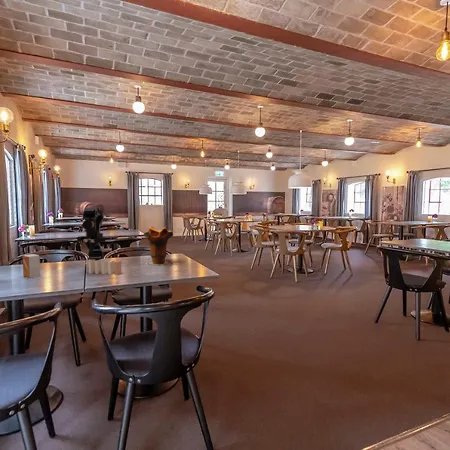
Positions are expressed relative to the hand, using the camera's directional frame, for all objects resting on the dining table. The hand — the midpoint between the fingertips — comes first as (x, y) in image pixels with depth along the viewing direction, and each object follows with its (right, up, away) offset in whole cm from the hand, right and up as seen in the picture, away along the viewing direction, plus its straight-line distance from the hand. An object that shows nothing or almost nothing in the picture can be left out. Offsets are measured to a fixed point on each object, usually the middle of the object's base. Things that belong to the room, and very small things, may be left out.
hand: (91, 252), depth 202 cm
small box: (-32, -14, -9) cm, 36 cm away
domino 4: (+13, -13, -2) cm, 19 cm away
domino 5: (+18, -13, -2) cm, 22 cm away
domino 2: (+5, -13, 0) cm, 14 cm away
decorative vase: (+36, -11, +31) cm, 49 cm away
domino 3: (+9, -13, -1) cm, 16 cm away
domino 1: (0, -13, +1) cm, 13 cm away
